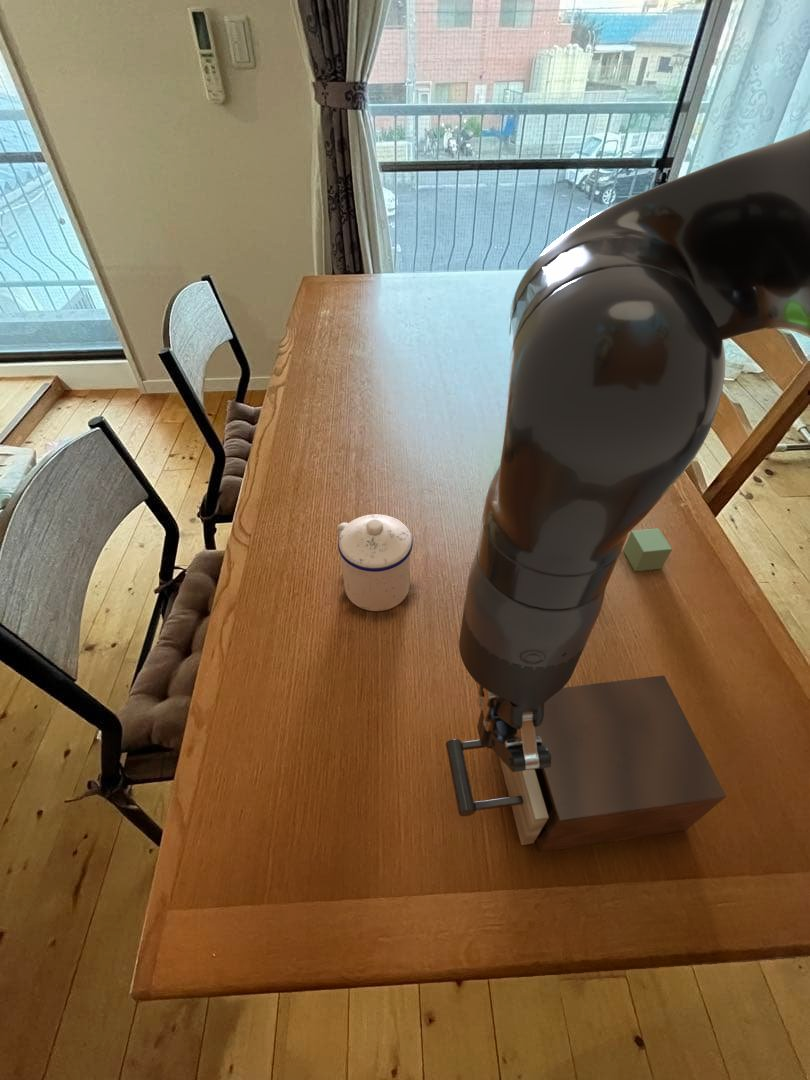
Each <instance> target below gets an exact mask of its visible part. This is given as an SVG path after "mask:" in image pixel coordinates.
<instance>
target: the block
mask: <svg viewBox="0 0 810 1080" xmlns="http://www.w3.org/2000/svg"><path fill="white" fill-rule="evenodd" d="M622 551H623V553H624V555H625V556H626V558H627V560H628V562H629V564H630V566H631V568H632V569H633V572H642V571H643V572H644V571H652V570H653V571H654V570H662V569H663V567H664V565H665V564H666V562H667V561H668V558H669V556H670V554H671V552H672V551H673V548H672V547H671V545H670V543H669V542H668V540H667V539H666V537H665V536H664V534H663V533H662V531H661V529H660V528H657V527H656V528H649V529H648V528H647V529H636V530H631V531H630V532H629V536H628V538H627V539H626V541H625V544H624V546H623V548H622Z"/></svg>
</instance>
